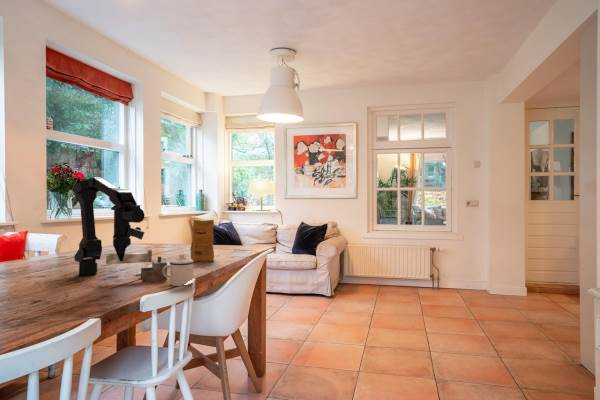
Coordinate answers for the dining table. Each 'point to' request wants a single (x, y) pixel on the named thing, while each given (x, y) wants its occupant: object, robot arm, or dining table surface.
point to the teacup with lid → (180, 270)
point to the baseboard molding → (150, 266)
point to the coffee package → (202, 241)
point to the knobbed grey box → (154, 271)
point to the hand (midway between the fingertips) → (121, 260)
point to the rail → (130, 258)
